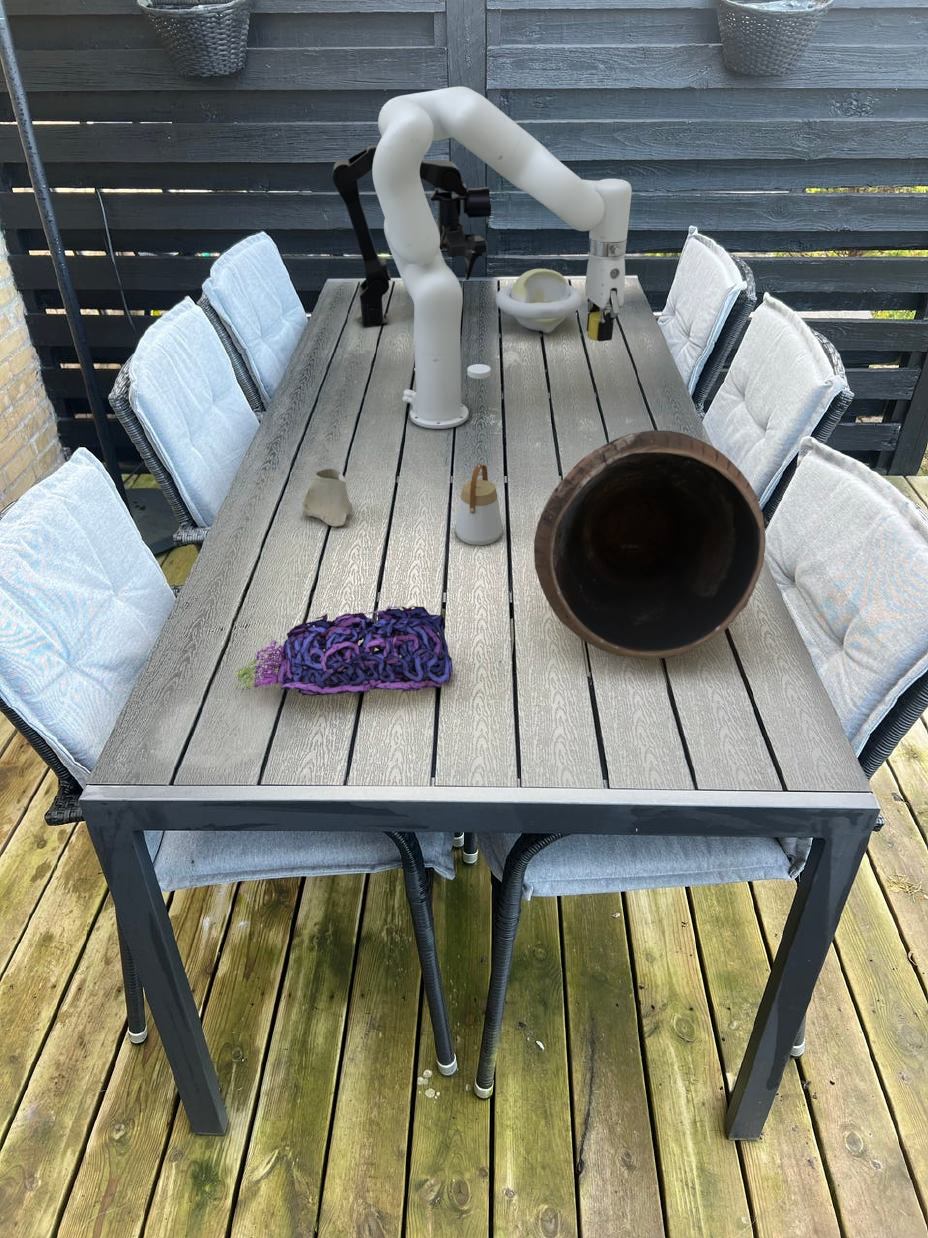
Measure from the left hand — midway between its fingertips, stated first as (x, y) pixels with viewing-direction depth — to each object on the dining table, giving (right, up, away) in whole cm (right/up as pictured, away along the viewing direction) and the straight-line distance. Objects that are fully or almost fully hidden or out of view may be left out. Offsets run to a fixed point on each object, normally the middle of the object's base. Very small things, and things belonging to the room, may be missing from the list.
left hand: (450, 281), depth 242 cm
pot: (+30, -86, -97) cm, 133 cm away
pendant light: (+6, -73, -79) cm, 108 cm away
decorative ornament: (-13, -97, -111) cm, 148 cm away
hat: (+23, -13, -1) cm, 26 cm away
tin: (+32, -28, -44) cm, 61 cm away
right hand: (+32, -27, -44) cm, 61 cm away
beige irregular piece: (-21, -70, -75) cm, 105 cm away
